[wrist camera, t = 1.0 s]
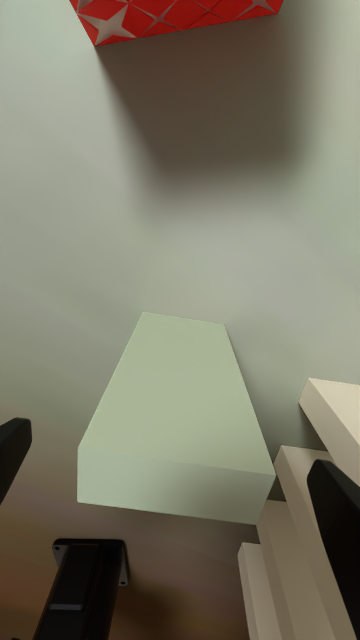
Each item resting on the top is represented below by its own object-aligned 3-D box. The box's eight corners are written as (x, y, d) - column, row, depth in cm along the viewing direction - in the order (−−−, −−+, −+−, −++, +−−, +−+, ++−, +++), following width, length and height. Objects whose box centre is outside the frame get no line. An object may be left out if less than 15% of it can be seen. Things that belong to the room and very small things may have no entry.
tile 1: (288, 561, 24) (351, 771, 15) (237, 554, 24) (268, 763, 15) (295, 548, 24) (365, 761, 14) (242, 542, 24) (278, 752, 14)
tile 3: (335, 472, 20) (464, 691, 11) (273, 464, 20) (349, 678, 11) (345, 453, 19) (492, 671, 10) (281, 444, 19) (369, 657, 10)
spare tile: (217, 352, 17) (255, 525, 7) (139, 340, 16) (77, 501, 7) (223, 324, 16) (276, 475, 6) (142, 311, 16) (78, 448, 6)
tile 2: (310, 521, 22) (397, 737, 13) (253, 513, 22) (301, 727, 13) (318, 506, 22) (417, 724, 12) (259, 498, 21) (315, 713, 12)
